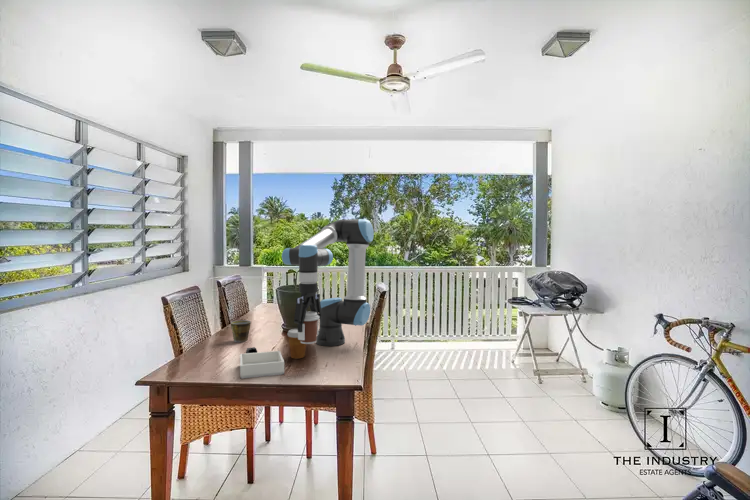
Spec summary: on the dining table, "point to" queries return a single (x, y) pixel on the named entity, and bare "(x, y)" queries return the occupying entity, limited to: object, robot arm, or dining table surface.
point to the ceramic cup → (240, 330)
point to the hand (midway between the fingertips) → (308, 336)
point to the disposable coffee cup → (296, 345)
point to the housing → (261, 364)
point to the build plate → (251, 350)
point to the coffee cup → (310, 327)
